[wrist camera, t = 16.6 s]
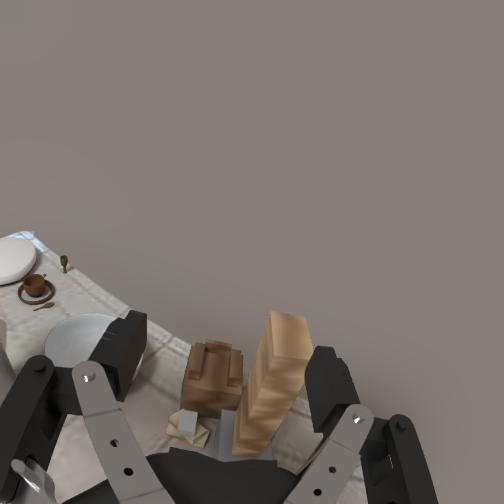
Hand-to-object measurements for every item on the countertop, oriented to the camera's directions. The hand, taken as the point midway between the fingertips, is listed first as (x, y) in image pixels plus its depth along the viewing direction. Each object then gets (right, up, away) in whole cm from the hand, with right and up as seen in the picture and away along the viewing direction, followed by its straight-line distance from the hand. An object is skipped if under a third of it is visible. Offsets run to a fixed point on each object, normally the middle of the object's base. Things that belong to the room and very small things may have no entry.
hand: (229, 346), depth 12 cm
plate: (-81, -1, +52) cm, 96 cm away
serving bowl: (-31, -20, +36) cm, 51 cm away
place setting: (-58, -7, +52) cm, 78 cm away
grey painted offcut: (-10, -25, +27) cm, 38 cm away
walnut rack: (-7, -25, +38) cm, 46 cm away
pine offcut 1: (-10, -26, +28) cm, 40 cm away
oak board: (0, -24, +23) cm, 33 cm away
